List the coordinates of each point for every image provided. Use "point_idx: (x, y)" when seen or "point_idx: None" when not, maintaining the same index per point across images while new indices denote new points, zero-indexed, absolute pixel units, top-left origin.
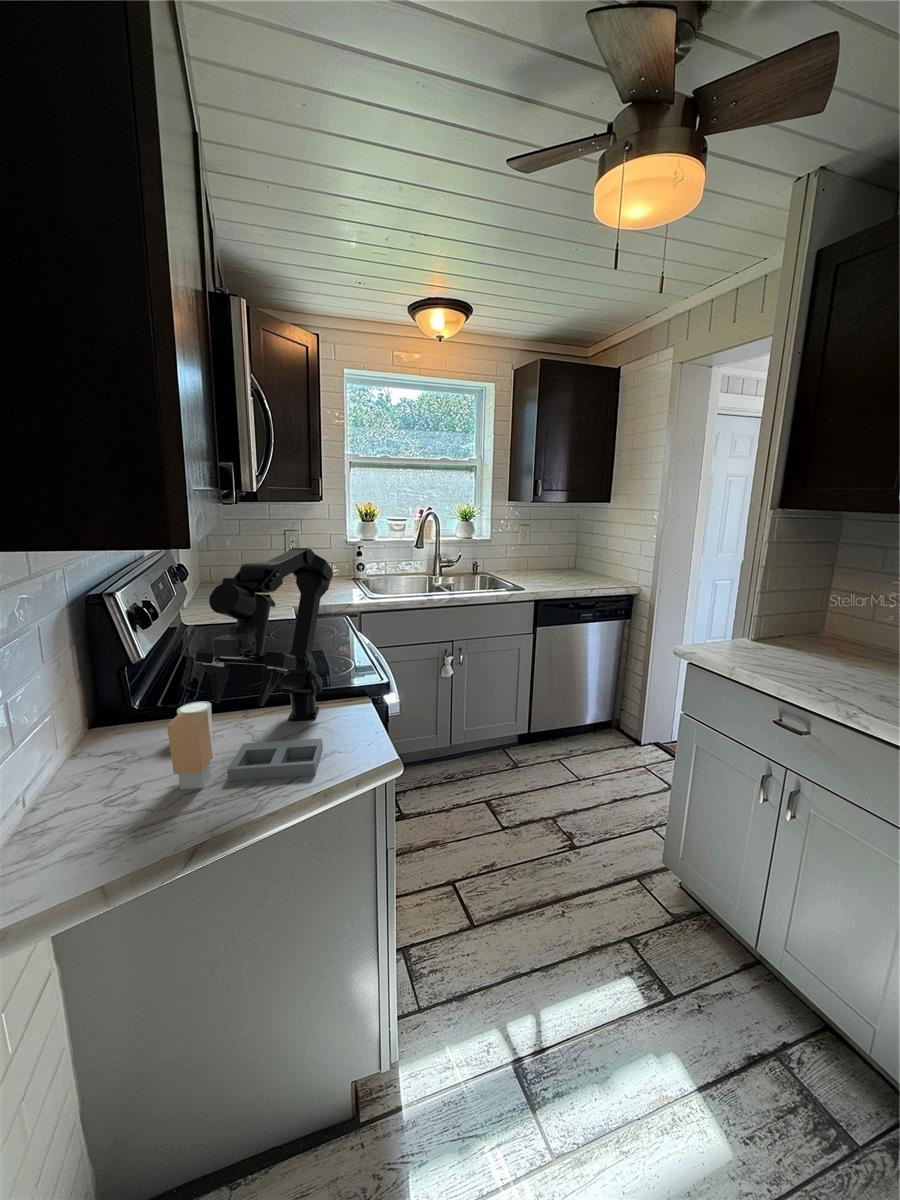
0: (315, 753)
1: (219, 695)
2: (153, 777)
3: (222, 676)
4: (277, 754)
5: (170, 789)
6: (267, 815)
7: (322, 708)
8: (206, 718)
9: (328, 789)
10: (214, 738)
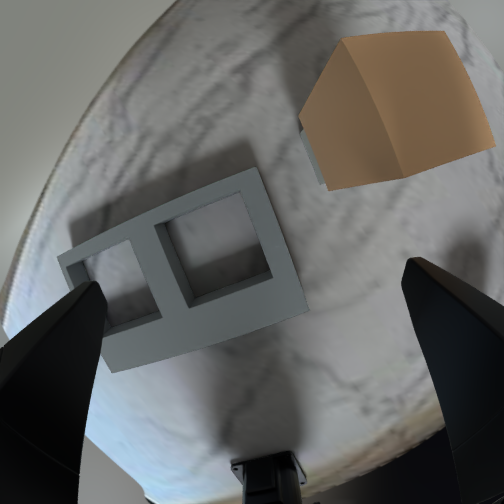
0: None
1: (424, 303)
2: None
3: (485, 427)
4: (164, 276)
5: None
6: (93, 98)
7: None
8: (382, 161)
9: (32, 212)
10: None
